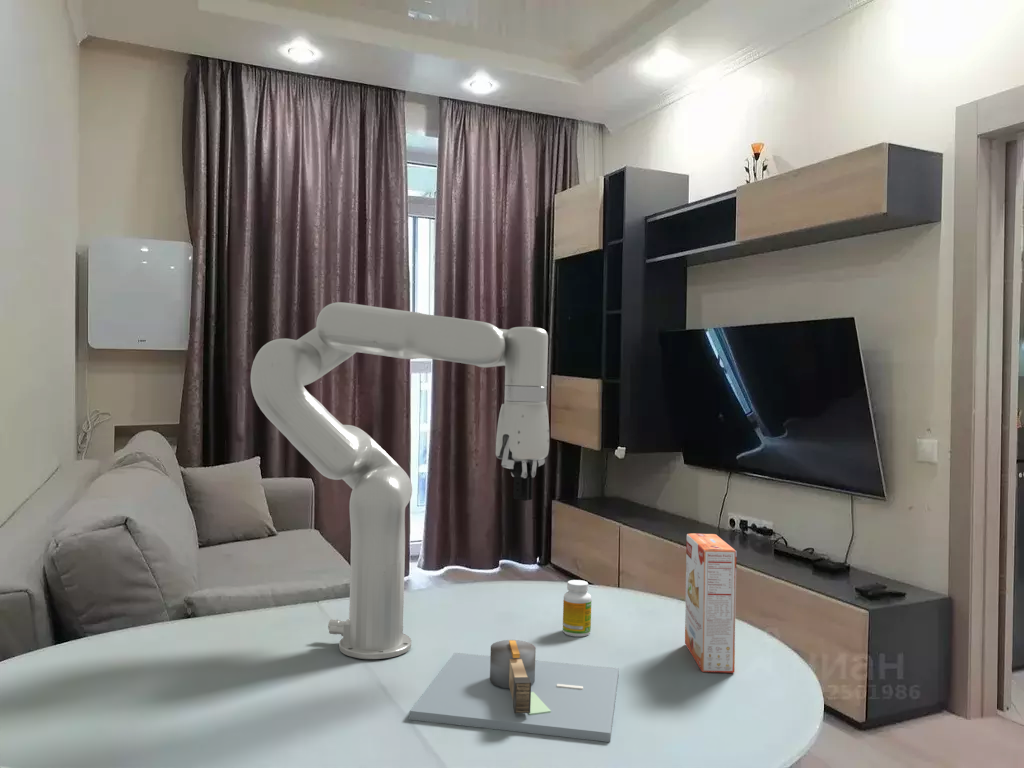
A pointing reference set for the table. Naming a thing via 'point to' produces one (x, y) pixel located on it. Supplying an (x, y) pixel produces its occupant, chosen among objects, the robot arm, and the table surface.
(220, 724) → the table surface
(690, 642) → the cracker box
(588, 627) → the supplement bottle
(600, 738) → the board
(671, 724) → the table surface
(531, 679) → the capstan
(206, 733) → the table surface
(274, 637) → the table surface
